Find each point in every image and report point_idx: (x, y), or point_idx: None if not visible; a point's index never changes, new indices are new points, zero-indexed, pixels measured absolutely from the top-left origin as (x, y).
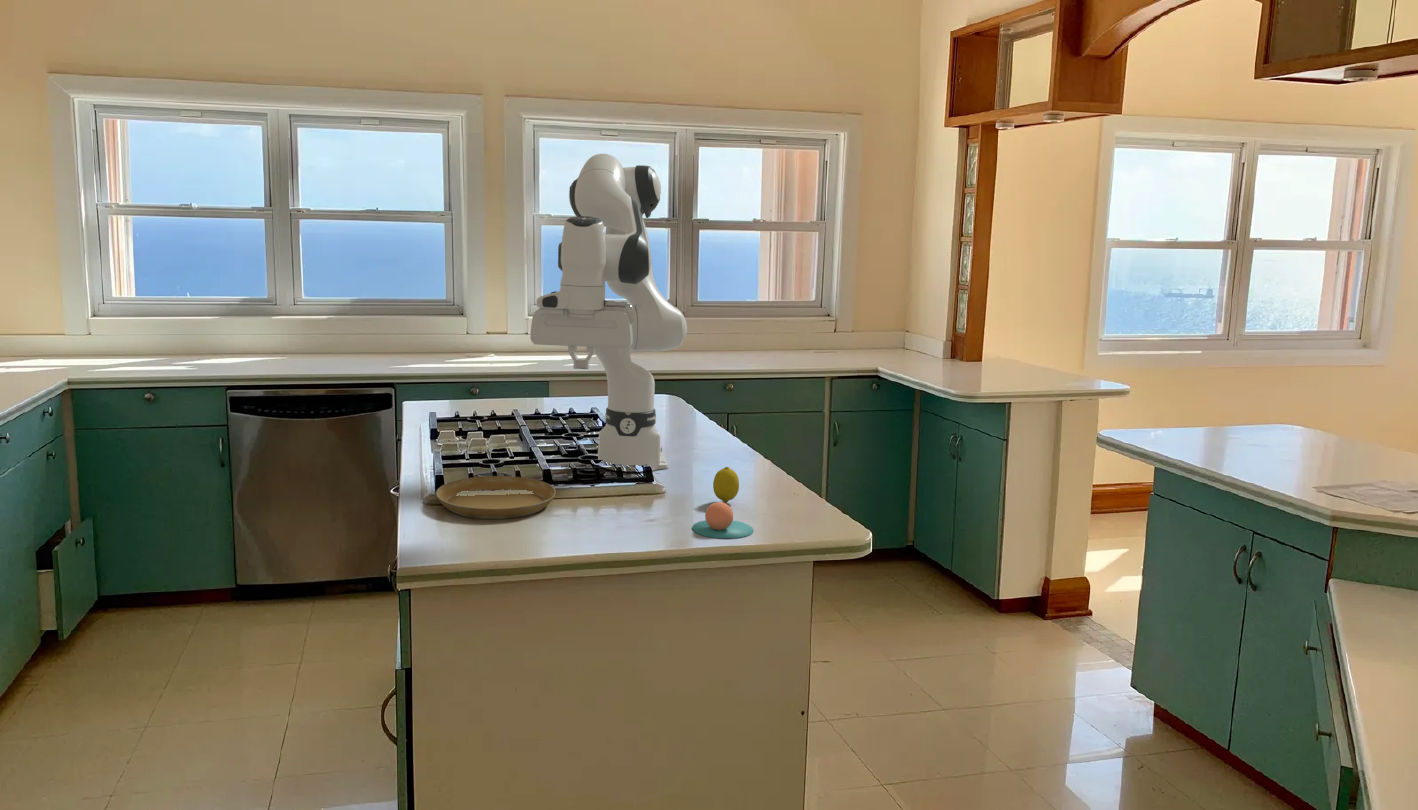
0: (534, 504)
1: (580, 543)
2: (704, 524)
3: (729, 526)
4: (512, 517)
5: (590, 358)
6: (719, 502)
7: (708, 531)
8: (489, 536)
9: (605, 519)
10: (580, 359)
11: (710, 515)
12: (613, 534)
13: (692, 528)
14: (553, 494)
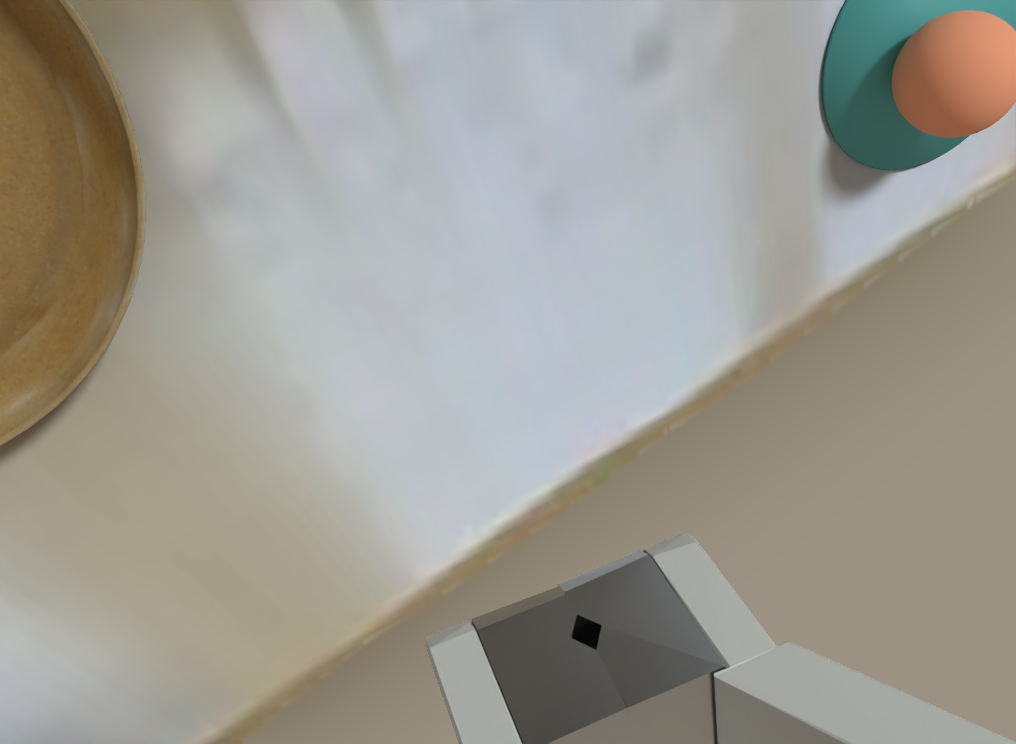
0: (130, 295)
1: (477, 438)
2: (869, 27)
3: (960, 8)
4: (39, 324)
5: (821, 677)
6: (1002, 88)
7: (880, 114)
8: (133, 545)
9: (458, 137)
10: (597, 735)
11: (931, 133)
12: (553, 303)
13: (824, 102)
14: (72, 26)
